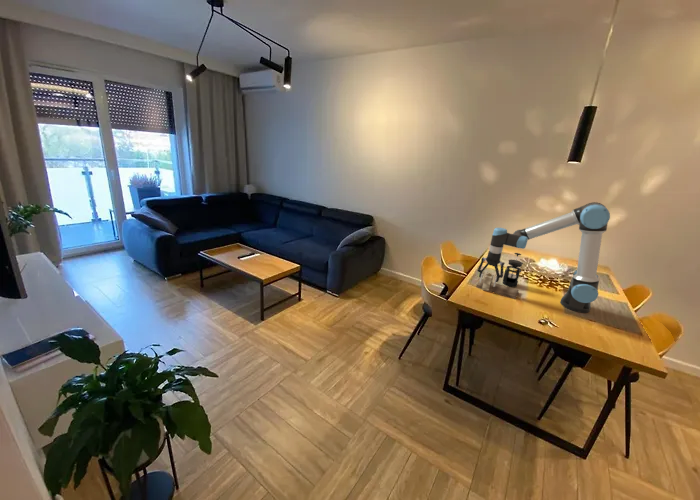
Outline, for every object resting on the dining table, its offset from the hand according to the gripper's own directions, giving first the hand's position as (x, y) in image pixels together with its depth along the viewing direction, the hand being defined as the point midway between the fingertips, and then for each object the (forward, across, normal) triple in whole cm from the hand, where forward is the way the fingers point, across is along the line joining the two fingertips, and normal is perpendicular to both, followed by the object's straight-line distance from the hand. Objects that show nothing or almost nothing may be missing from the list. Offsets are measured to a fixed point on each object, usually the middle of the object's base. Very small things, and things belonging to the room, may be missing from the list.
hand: (487, 283), depth 201 cm
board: (+4, -6, -4) cm, 8 cm away
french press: (+4, -11, -20) cm, 23 cm away
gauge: (+4, 0, 0) cm, 4 cm away
